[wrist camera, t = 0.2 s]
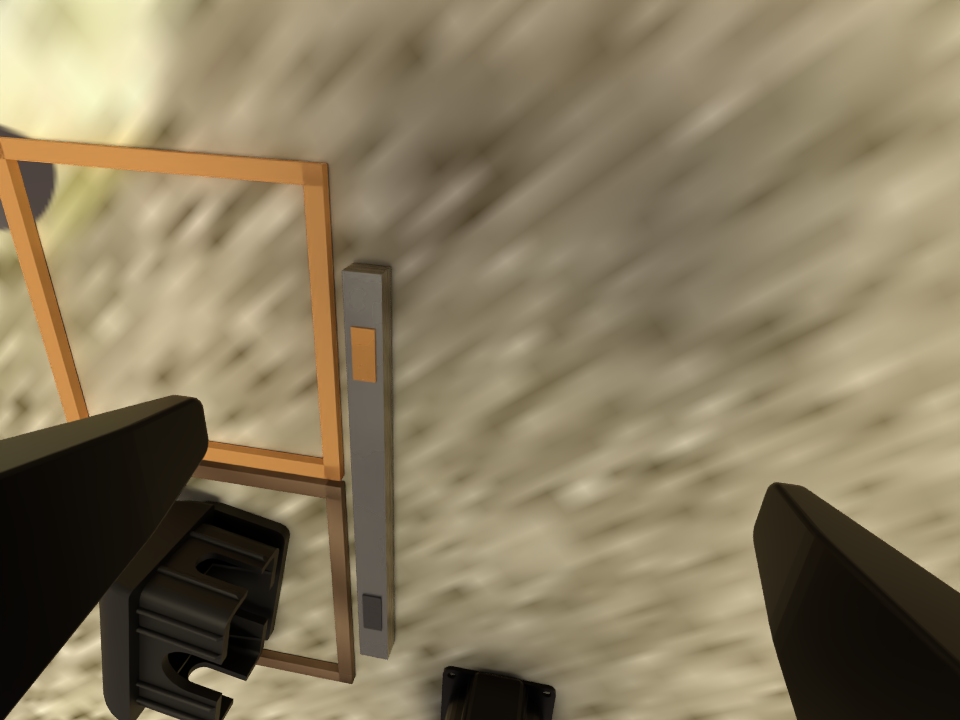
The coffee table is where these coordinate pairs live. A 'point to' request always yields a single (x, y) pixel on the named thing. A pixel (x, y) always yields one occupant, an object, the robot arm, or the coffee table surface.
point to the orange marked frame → (7, 183)
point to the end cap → (191, 610)
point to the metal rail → (371, 448)
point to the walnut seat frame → (338, 555)
